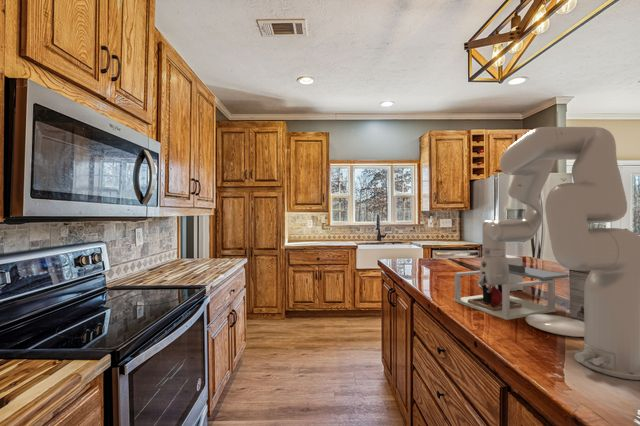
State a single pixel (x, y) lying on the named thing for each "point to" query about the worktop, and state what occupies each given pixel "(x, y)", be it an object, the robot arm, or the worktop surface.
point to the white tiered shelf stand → (508, 299)
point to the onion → (496, 296)
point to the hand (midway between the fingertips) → (494, 301)
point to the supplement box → (514, 277)
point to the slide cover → (534, 272)
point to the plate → (557, 324)
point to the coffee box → (577, 292)
